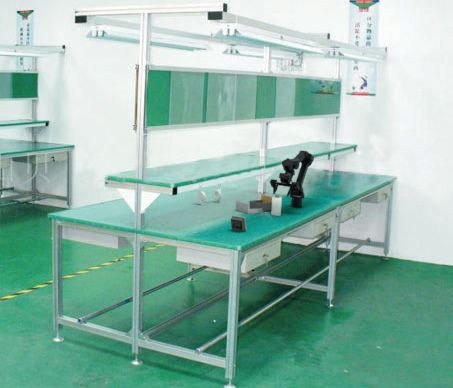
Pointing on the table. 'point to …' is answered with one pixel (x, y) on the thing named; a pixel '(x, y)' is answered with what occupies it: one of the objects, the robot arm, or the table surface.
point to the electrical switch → (238, 223)
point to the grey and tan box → (262, 203)
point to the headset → (203, 197)
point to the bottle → (276, 205)
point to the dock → (246, 208)
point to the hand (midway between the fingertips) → (280, 195)
